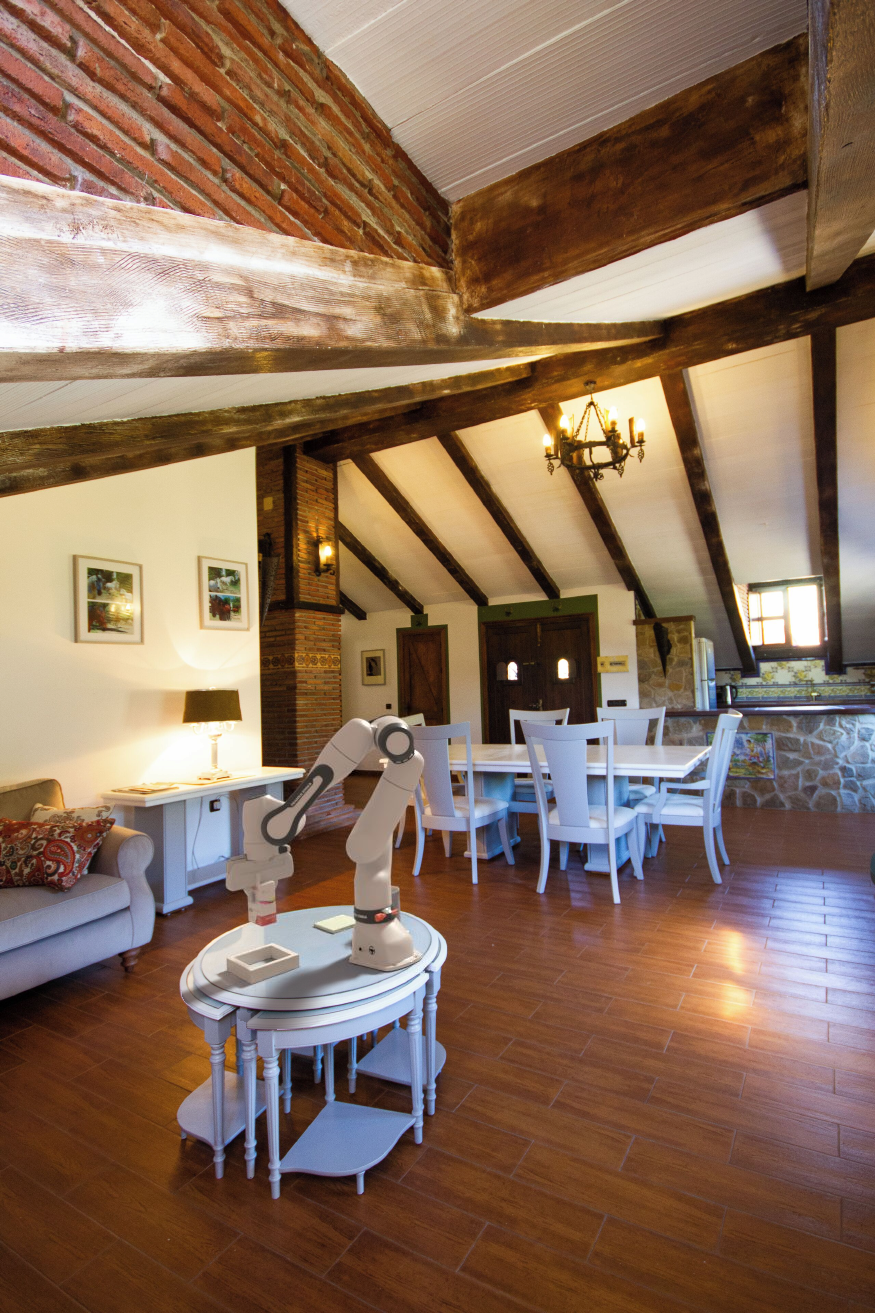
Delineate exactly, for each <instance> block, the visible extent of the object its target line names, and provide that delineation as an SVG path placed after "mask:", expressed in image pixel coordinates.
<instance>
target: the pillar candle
mask: <svg viewBox="0 0 875 1313" xmlns="http://www.w3.org/2000/svg"><path fill="white" fill-rule="evenodd" d="M400 895H401V894H400V887H399V886H395V885H391V899H392V903H393V905H394V908H395V910H396V909H398V910H397V911H395V912H398V913H396V918H397V919H398V921H399V922H400V923H401V924H402V921H401V899H400V898H401V896H400Z"/></svg>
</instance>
